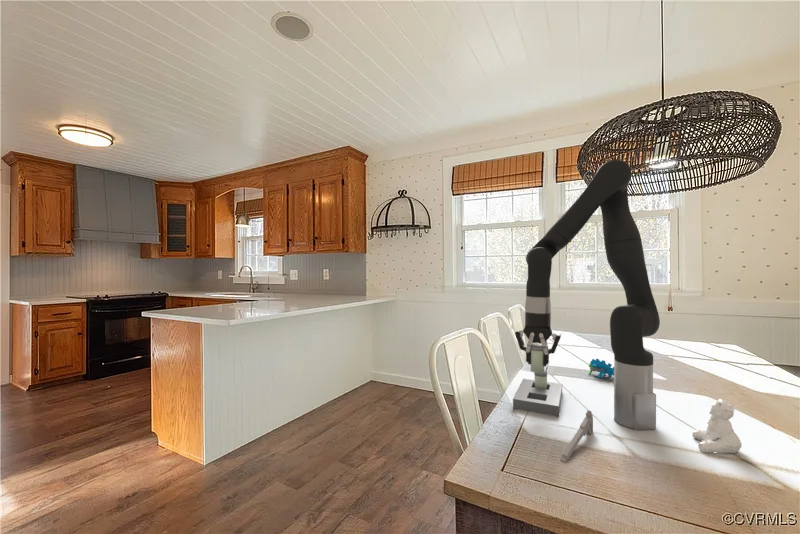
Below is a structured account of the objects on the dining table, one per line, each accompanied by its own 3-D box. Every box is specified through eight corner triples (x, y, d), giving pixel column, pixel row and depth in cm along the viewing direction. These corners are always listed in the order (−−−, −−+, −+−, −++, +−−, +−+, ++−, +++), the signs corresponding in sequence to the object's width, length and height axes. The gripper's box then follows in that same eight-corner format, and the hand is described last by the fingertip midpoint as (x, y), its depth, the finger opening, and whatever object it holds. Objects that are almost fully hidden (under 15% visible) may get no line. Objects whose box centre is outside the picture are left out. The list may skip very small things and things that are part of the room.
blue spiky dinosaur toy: (623, 375, 139) (609, 358, 137) (618, 387, 137) (603, 371, 135) (598, 371, 149) (584, 355, 147) (592, 383, 147) (578, 367, 145)
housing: (558, 416, 105) (558, 389, 105) (512, 408, 111) (512, 382, 111) (562, 392, 125) (562, 369, 125) (523, 386, 131) (523, 364, 131)
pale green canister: (546, 372, 112) (546, 347, 112) (534, 373, 112) (534, 347, 111) (540, 368, 116) (540, 344, 116) (528, 369, 116) (528, 344, 116)
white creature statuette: (690, 435, 94) (690, 389, 94) (734, 443, 90) (734, 395, 89) (699, 452, 85) (700, 401, 85) (748, 461, 81) (748, 408, 81)
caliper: (588, 431, 96) (588, 408, 96) (593, 433, 96) (593, 409, 96) (560, 462, 82) (560, 434, 82) (565, 463, 81) (565, 436, 81)
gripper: (563, 310, 113) (562, 364, 114) (516, 307, 120) (516, 358, 120) (561, 314, 107) (560, 371, 107) (512, 310, 113) (511, 364, 114)
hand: (537, 364), depth 114 cm, fingers closed on pale green canister, 4 cm apart
